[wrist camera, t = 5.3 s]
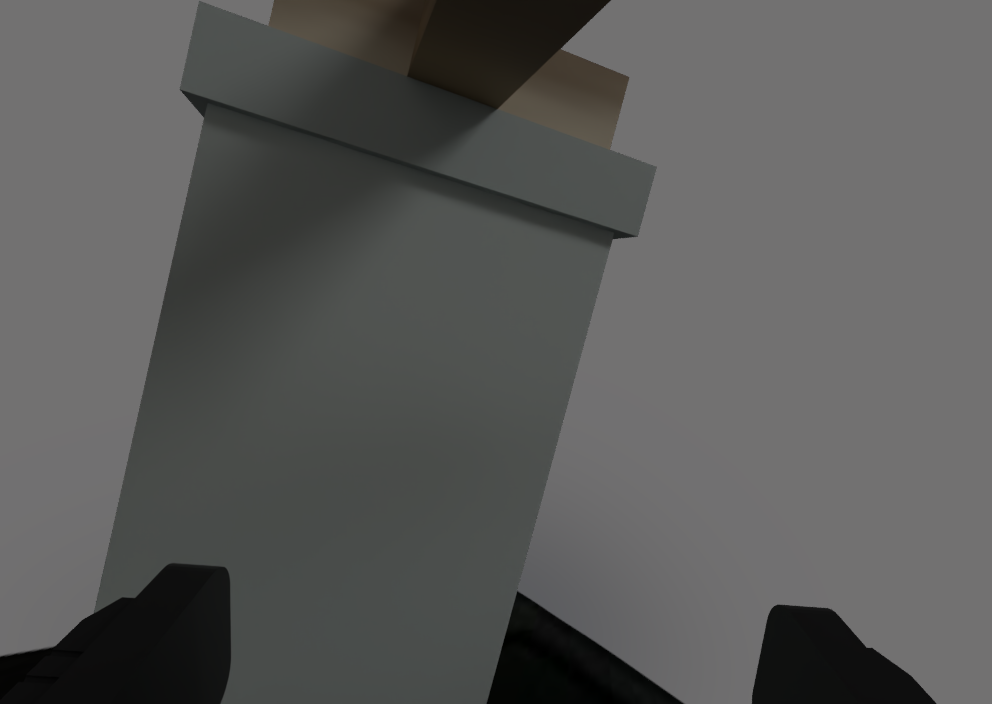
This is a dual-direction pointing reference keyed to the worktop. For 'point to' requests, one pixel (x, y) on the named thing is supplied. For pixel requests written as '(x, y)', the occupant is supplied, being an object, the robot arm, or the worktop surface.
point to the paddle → (476, 53)
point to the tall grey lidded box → (362, 366)
